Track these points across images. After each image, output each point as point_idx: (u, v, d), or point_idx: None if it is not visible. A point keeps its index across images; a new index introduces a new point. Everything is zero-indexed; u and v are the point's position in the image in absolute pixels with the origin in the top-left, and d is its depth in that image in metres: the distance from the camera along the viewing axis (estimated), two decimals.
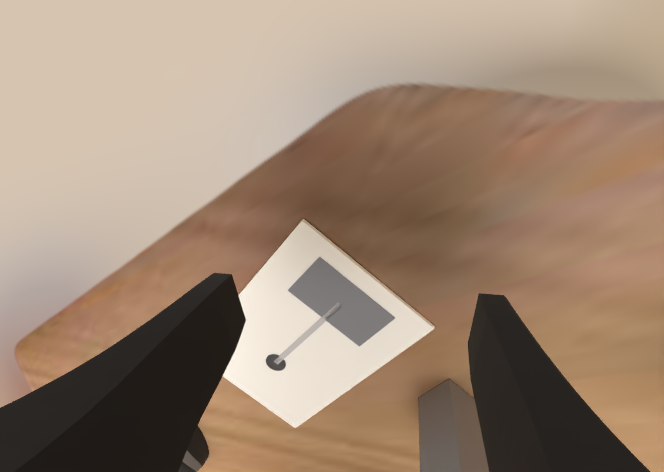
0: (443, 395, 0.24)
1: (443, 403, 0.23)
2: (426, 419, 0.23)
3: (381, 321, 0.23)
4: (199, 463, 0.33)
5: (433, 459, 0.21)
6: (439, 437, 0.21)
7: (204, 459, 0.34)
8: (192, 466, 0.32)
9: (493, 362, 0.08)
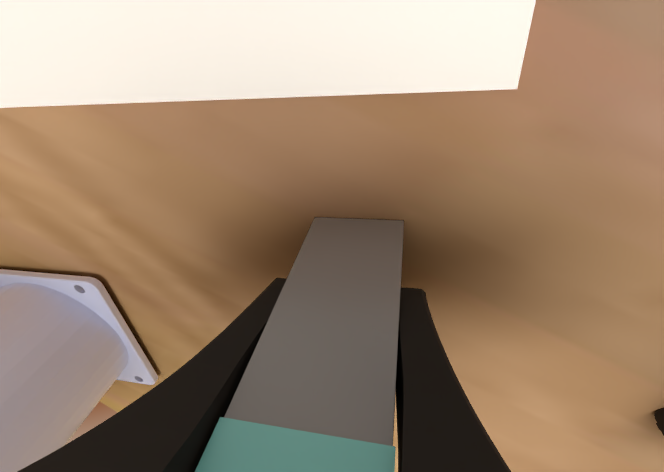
0: (380, 238, 0.10)
1: (376, 249, 0.10)
2: (321, 257, 0.10)
3: None
4: None
5: (310, 337, 0.08)
6: (346, 302, 0.08)
7: None
8: None
9: (399, 351, 0.08)
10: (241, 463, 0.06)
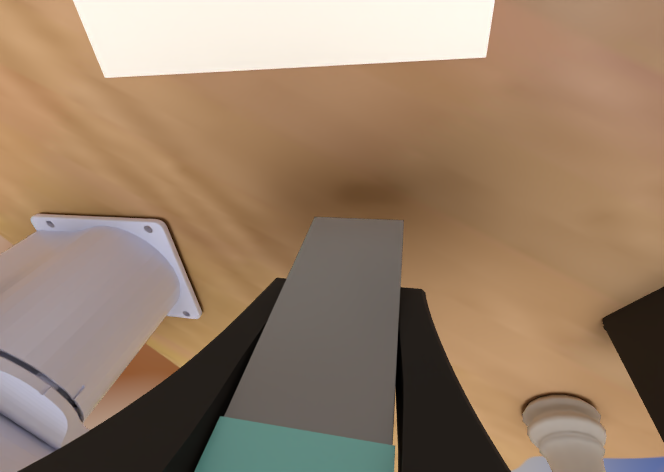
0: (380, 237, 0.10)
1: (376, 249, 0.10)
2: (321, 256, 0.10)
3: None
4: None
5: (309, 336, 0.08)
6: (346, 301, 0.08)
7: None
8: None
9: (398, 352, 0.08)
10: (241, 462, 0.06)
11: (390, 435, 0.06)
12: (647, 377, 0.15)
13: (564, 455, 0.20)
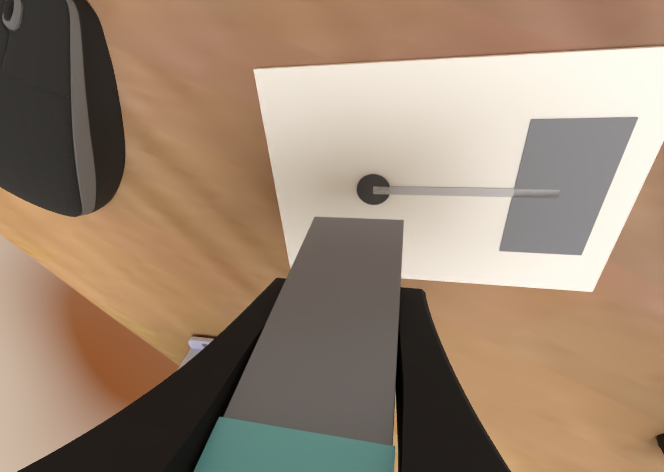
0: (380, 237, 0.10)
1: (376, 248, 0.10)
2: (320, 256, 0.10)
3: (561, 246, 0.16)
4: (92, 207, 0.19)
5: (309, 336, 0.08)
6: (346, 301, 0.08)
7: (100, 207, 0.20)
8: (85, 205, 0.18)
9: (398, 351, 0.08)
10: (239, 463, 0.06)
11: (390, 435, 0.06)
12: None
13: None
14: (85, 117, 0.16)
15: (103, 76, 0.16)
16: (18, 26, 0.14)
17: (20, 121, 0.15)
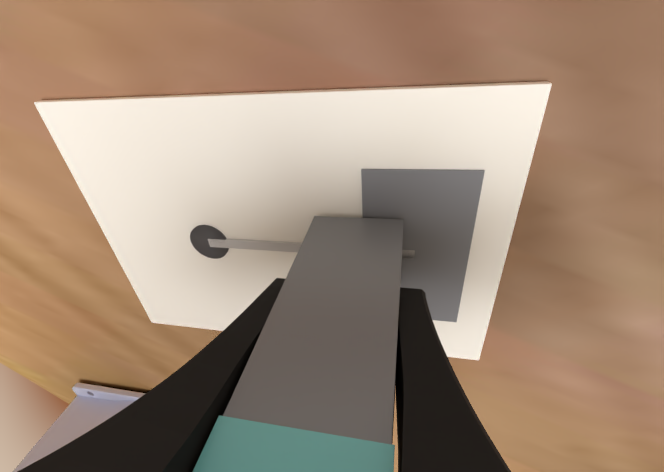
0: (380, 237, 0.10)
1: (376, 248, 0.10)
2: (320, 255, 0.10)
3: (433, 311, 0.14)
4: None
5: (309, 335, 0.08)
6: (346, 300, 0.08)
7: None
8: None
9: (398, 351, 0.08)
10: (239, 462, 0.06)
11: (390, 434, 0.06)
12: None
13: None
14: None
15: None
16: None
17: None
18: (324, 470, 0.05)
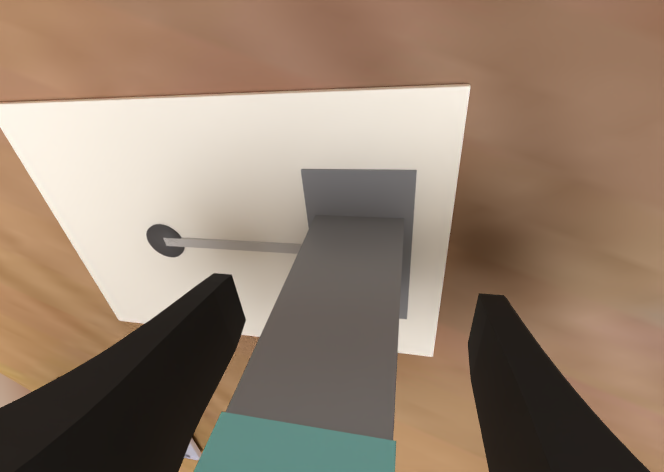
0: (380, 236, 0.11)
1: (377, 246, 0.10)
2: (321, 254, 0.10)
3: None
4: None
5: (311, 333, 0.08)
6: (347, 298, 0.08)
7: None
8: None
9: (493, 362, 0.08)
10: (242, 458, 0.06)
11: (391, 430, 0.06)
12: None
13: None
14: None
15: None
16: None
17: None
18: (326, 466, 0.05)
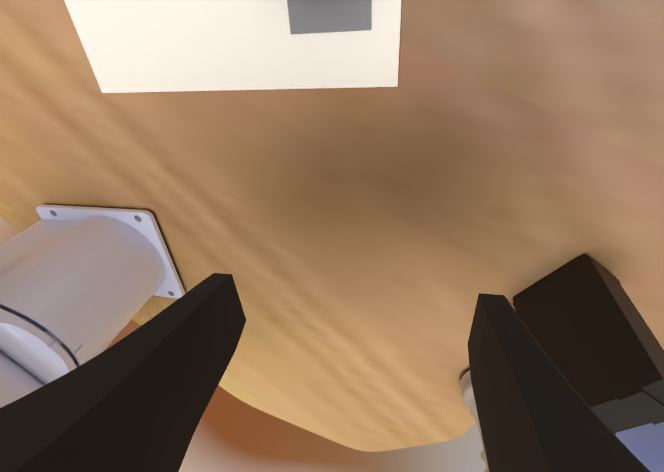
0: None
1: None
2: None
3: (350, 20, 0.15)
4: None
5: None
6: None
7: None
8: None
9: (493, 362, 0.08)
10: None
11: None
12: None
13: None
14: None
15: None
16: None
17: None
18: None
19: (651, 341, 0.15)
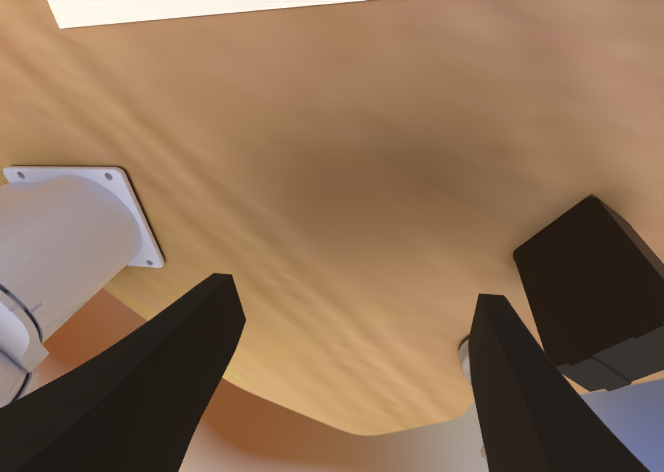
0: None
1: None
2: None
3: None
4: None
5: None
6: None
7: None
8: None
9: (493, 362, 0.08)
10: None
11: None
12: (537, 290, 0.17)
13: None
14: None
15: None
16: None
17: None
18: None
19: None
